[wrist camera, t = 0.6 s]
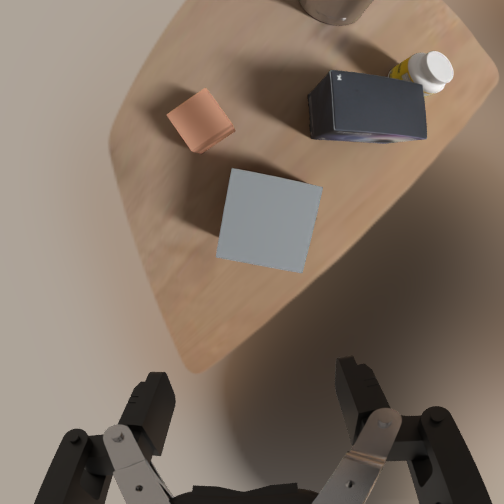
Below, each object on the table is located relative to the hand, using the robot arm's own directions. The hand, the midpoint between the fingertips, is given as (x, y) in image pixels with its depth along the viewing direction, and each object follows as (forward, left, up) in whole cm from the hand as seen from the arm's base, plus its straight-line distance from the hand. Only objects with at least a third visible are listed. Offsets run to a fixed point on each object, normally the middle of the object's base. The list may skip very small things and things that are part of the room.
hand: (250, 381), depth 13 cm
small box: (-18, +9, -26) cm, 33 cm away
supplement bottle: (-26, +16, -26) cm, 40 cm away
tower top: (-4, +1, -22) cm, 22 cm away
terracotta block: (-13, -8, -26) cm, 30 cm away
